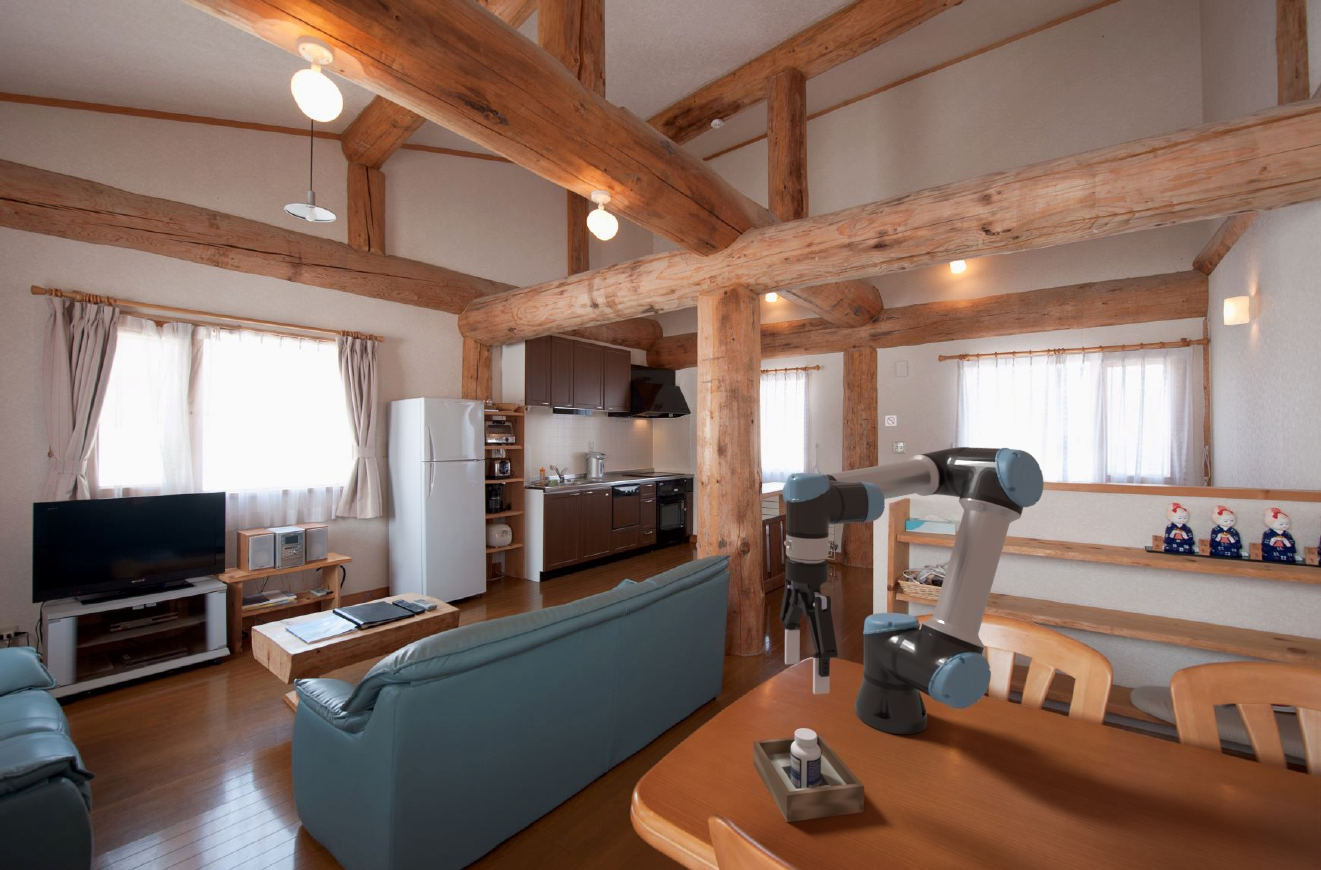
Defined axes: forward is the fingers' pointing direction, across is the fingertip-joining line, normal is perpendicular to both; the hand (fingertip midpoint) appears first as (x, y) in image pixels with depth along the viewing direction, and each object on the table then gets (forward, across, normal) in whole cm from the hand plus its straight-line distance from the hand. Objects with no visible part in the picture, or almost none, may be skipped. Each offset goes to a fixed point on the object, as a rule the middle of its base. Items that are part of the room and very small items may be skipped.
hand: (805, 677), depth 100 cm
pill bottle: (+20, 0, 0) cm, 20 cm away
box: (+20, 0, 0) cm, 20 cm away
